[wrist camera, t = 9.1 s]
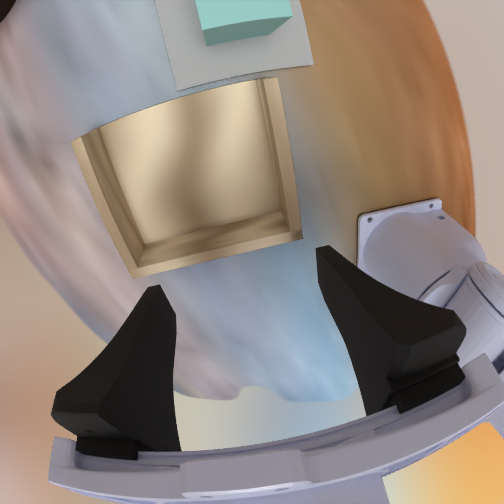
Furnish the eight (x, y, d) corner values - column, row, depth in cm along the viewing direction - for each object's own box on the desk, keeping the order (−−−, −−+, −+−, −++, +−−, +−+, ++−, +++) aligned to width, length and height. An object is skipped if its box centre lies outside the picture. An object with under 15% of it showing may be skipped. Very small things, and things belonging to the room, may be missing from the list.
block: (256, -15, 12) (274, -50, 7) (269, 34, 14) (292, 16, 9) (194, -5, 12) (185, -38, 7) (206, 46, 14) (202, 30, 9)
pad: (284, -42, 11) (286, -45, 10) (311, 65, 16) (313, 64, 15) (151, -19, 11) (150, -21, 10) (178, 90, 16) (177, 90, 16)
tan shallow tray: (266, 77, 16) (277, 76, 13) (291, 215, 22) (302, 238, 20) (92, 130, 16) (70, 141, 14) (141, 252, 23) (133, 278, 20)
